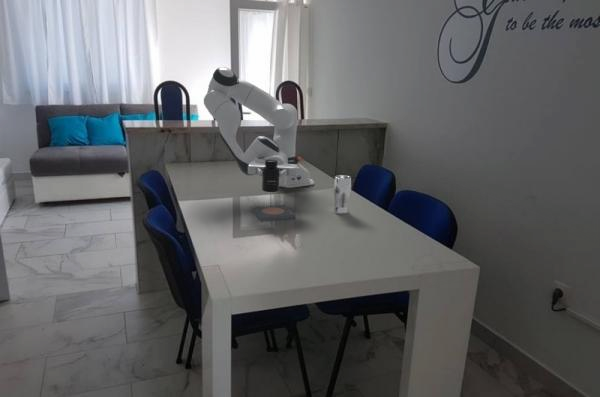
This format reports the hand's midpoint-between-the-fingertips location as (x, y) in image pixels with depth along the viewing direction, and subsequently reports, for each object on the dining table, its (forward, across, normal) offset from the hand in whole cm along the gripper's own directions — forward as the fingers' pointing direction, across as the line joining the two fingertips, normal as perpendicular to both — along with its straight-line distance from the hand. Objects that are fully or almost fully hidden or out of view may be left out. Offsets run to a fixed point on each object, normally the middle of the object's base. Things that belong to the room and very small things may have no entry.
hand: (270, 174), depth 184 cm
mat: (-1, -1, -17) cm, 17 cm away
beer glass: (-9, -28, -17) cm, 34 cm away
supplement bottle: (-1, 0, -7) cm, 7 cm away
